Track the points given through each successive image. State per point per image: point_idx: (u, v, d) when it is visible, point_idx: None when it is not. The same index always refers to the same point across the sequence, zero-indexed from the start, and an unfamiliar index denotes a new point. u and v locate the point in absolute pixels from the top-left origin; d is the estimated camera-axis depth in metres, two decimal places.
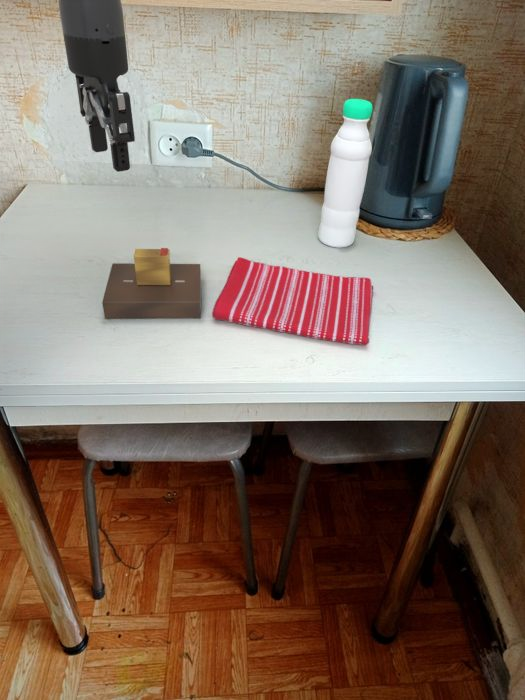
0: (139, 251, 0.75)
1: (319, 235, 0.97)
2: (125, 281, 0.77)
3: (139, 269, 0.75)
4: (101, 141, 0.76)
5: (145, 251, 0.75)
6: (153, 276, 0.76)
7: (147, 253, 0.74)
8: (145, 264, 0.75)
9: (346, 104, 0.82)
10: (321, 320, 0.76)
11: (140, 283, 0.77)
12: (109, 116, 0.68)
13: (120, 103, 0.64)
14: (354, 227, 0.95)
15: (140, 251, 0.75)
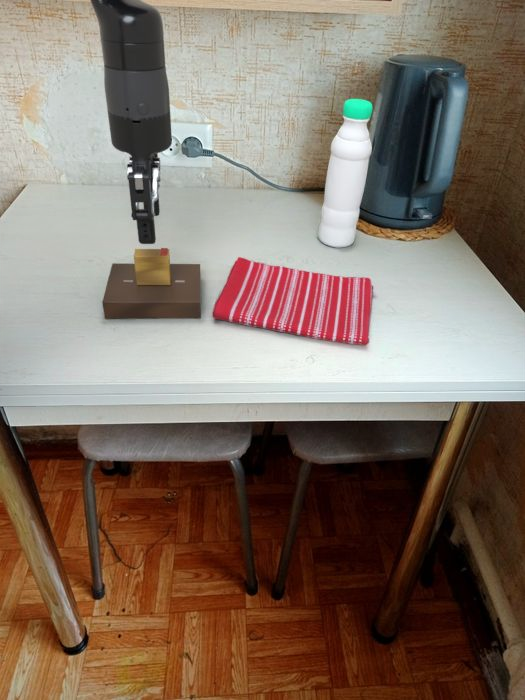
0: (139, 251, 0.75)
1: (319, 235, 0.97)
2: (125, 281, 0.77)
3: (139, 269, 0.75)
4: None
5: (145, 251, 0.75)
6: (153, 276, 0.76)
7: (147, 253, 0.74)
8: (145, 264, 0.75)
9: (346, 104, 0.82)
10: (321, 320, 0.76)
11: (140, 283, 0.77)
12: None
13: (137, 183, 0.61)
14: (354, 227, 0.95)
15: (140, 251, 0.75)
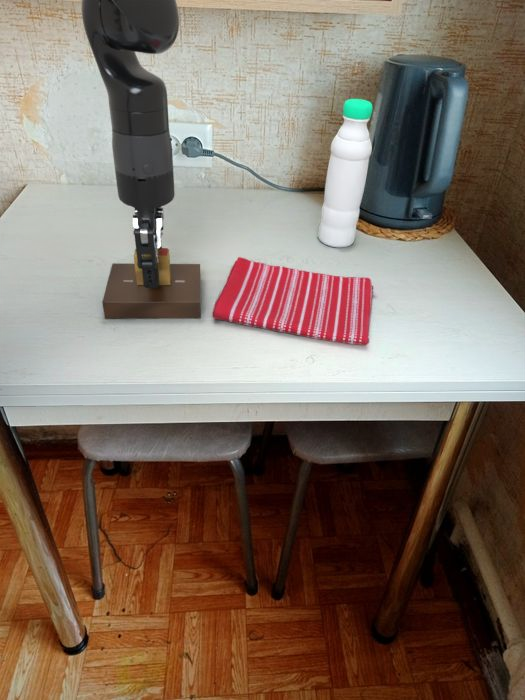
0: None
1: (319, 235, 0.97)
2: (125, 281, 0.77)
3: (139, 269, 0.75)
4: None
5: None
6: None
7: None
8: None
9: (346, 104, 0.82)
10: (321, 320, 0.76)
11: (140, 283, 0.77)
12: None
13: (143, 238, 0.66)
14: (354, 227, 0.95)
15: None
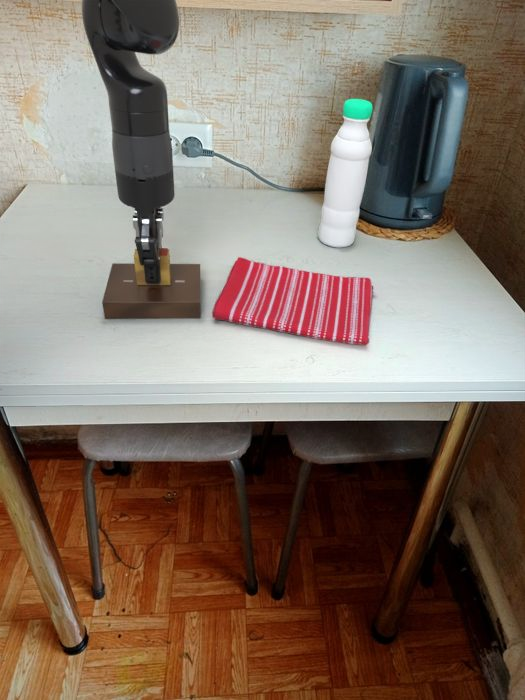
0: None
1: (319, 235, 0.97)
2: (125, 281, 0.77)
3: (139, 269, 0.75)
4: None
5: None
6: None
7: None
8: None
9: (346, 104, 0.82)
10: (321, 320, 0.76)
11: (140, 283, 0.77)
12: None
13: (144, 247, 0.67)
14: (354, 227, 0.95)
15: None
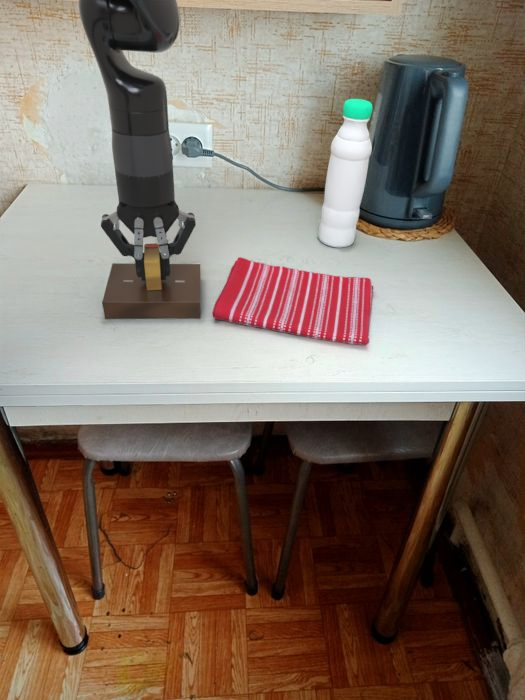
0: (150, 258, 0.73)
1: (319, 235, 0.97)
2: (125, 281, 0.77)
3: (160, 272, 0.75)
4: None
5: (149, 255, 0.74)
6: None
7: (154, 254, 0.74)
8: None
9: (346, 104, 0.82)
10: (321, 320, 0.76)
11: (161, 286, 0.76)
12: None
13: None
14: (354, 227, 0.95)
15: (149, 258, 0.73)
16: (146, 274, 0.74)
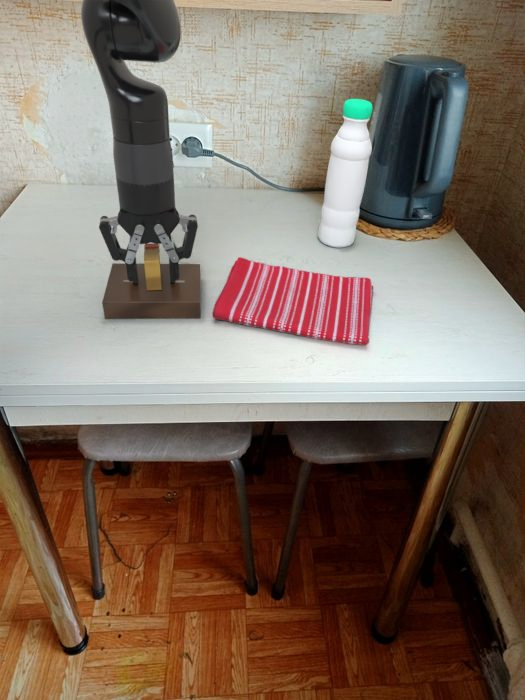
0: (150, 258, 0.73)
1: (319, 235, 0.97)
2: (125, 281, 0.77)
3: (160, 272, 0.75)
4: None
5: (149, 255, 0.74)
6: None
7: (154, 254, 0.74)
8: None
9: (346, 104, 0.82)
10: (321, 320, 0.76)
11: (161, 286, 0.76)
12: None
13: None
14: (354, 227, 0.95)
15: (149, 258, 0.73)
16: (146, 274, 0.74)
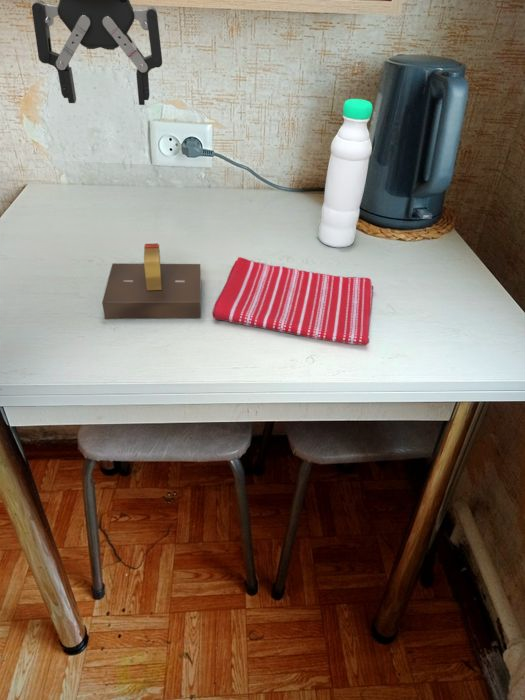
0: (150, 258, 0.73)
1: (319, 235, 0.97)
2: (125, 281, 0.77)
3: (160, 272, 0.75)
4: (73, 88, 0.63)
5: (149, 255, 0.74)
6: None
7: (154, 254, 0.74)
8: None
9: (346, 104, 0.82)
10: (321, 320, 0.76)
11: (161, 286, 0.76)
12: None
13: (157, 19, 0.60)
14: (354, 227, 0.95)
15: (149, 258, 0.73)
16: (146, 274, 0.74)
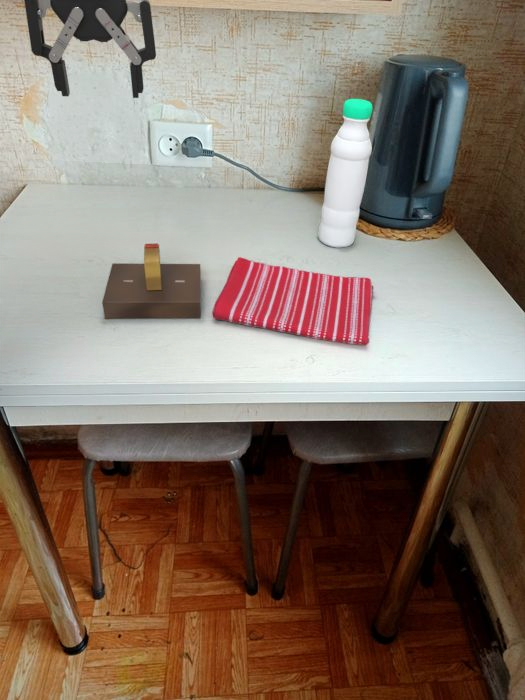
0: (150, 258, 0.73)
1: (319, 235, 0.97)
2: (125, 281, 0.77)
3: (160, 272, 0.75)
4: (67, 81, 0.63)
5: (149, 255, 0.74)
6: None
7: (154, 254, 0.74)
8: None
9: (346, 104, 0.82)
10: (321, 320, 0.76)
11: (161, 286, 0.76)
12: None
13: None
14: (354, 227, 0.95)
15: (149, 258, 0.73)
16: (146, 274, 0.74)
